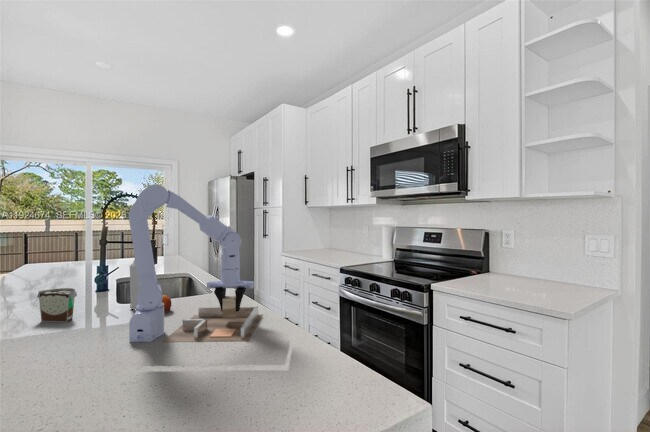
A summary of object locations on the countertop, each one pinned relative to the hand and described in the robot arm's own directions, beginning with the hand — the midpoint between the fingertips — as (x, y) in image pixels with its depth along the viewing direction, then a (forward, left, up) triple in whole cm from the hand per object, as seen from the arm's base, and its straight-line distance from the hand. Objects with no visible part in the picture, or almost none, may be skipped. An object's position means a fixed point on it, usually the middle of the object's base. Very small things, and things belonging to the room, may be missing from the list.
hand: (230, 310), depth 106 cm
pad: (-10, 0, -4) cm, 11 cm away
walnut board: (-4, +3, -5) cm, 7 cm away
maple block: (0, 0, -2) cm, 2 cm away
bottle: (+20, +41, -5) cm, 45 cm away
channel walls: (-3, +2, -4) cm, 6 cm away
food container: (+8, +60, -5) cm, 60 cm away
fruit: (+12, +29, -5) cm, 31 cm away
